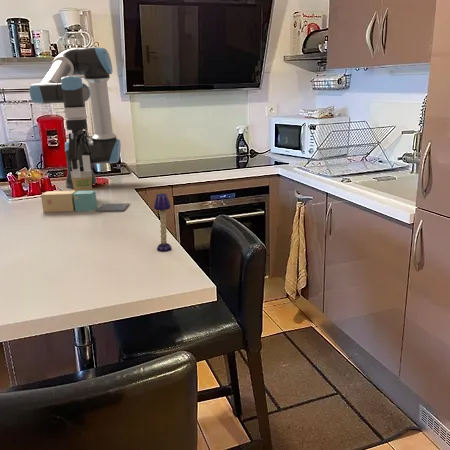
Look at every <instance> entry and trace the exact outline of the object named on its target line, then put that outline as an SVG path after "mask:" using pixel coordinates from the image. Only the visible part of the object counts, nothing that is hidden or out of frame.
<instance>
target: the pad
mask: <svg viewBox="0 0 450 450" xmlns="http://www.w3.org/2000/svg"><path fill="white" fill-rule="evenodd" d="M129 206H130V202H129V203H128V202H125V203H124V202H122V203H102V204H101V205H100V206H98V207H97V208H96V209H95V210H94V211H95V213H112V212H114V213H115V212H125V210H127V208H128V207H129Z"/></svg>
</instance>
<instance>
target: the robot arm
mask: <svg viewBox="0 0 450 450" xmlns="http://www.w3.org/2000/svg"><path fill="white" fill-rule="evenodd" d="M112 64H113V63H112V60H111V56H110V54H109V52H108V50H107V49H106V48H105V47H81V48H80V47H78V48H77V47H75V48H74V47H73V48H69V49H66V50H63V51H62V52H60V53H59V54H58V55H57V56H55V57H54V58H53V60H52V61H51V67H50V69H49V71H48V72H47V73H46V75H45V76H44V78H43V79H42V81H41V82H40V83H38V82H37V83H32V84H30V87H29V95H30V99H31V101H32V103H34V104H42V105H44V104H45V105H46V104H47V105H49V104H63V106H64V108H63V109H64V110H63V113H64V116H65V119H66V120H65V125H66V126H65V127H66V129H67V131H71V132H70V133H68V140H66V142H64V152H65V160H66V167H67V173H66V174H67V175H66V179H65V187H66V188H69V189H70V188H72V189H74V187H73V183H72V179H71V173H70V171H69V169H70V166H71V165H72V173H73V178H78V177H81V174H80V166H79V164H83V168H84V172H89V171H91V167H92V168H93V166H92V165H96V164H97V165H98V164H100V165H101V164H108V165H110V164H116V163H118V162H119V161H120V158H121V149H122V148H121V140H120V139H119V138H117V135H116V133H114V132H113V131H114V130H113V122H112V116H111V115H112V114H111V106H110V98H109V90H108V89H109V88H108V81H109V79H110V75H112V74H113V65H112ZM79 75H80V76H79ZM82 75H83V79H84V80H85V82H87V84H88V85H87V84H85V83H84V82H83V79H82V77H81V76H82ZM89 99H90V107H91V114H92V122H93V123H92V124H93V130H94V134H93V135H92V137H91V138H92V140H90V139H89V137H88V136H87V131H86V130H87V128H88V123H87V120H86V118H87V114H86V113H87V112H86V107H85V105H86V104H85V102H87V101H88V100H89ZM90 165H91V166H90ZM95 183H97V184H98V180H97V177H96V175H95V173H94V170H93V169H92V185H93V184H95Z"/></svg>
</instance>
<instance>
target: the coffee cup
mask: <svg viewBox="0 0 450 450" xmlns="http://www.w3.org/2000/svg"><path fill="white" fill-rule="evenodd" d="M91 165H92V164H91ZM91 165H90V166H91ZM79 166H80V174H81V177H78V178H73V173H72V165H71V166H70V169H69V171H70V173H71V179H72V183H73V187H74V188H73V191H76V192H77V191H92V190H93V186H92V170H93V166H92V167H91V171H89V172H84V168H83V164H79Z"/></svg>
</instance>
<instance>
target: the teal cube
mask: <svg viewBox="0 0 450 450" xmlns="http://www.w3.org/2000/svg"><path fill="white" fill-rule="evenodd" d="M96 193H97V192H96V190H93V189H92V191H77V192H76V193H74V194H73V195H74V203H75V211H74V212H90V211H91V212H93V211H95V210H97V209H98V201H97V194H96Z"/></svg>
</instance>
